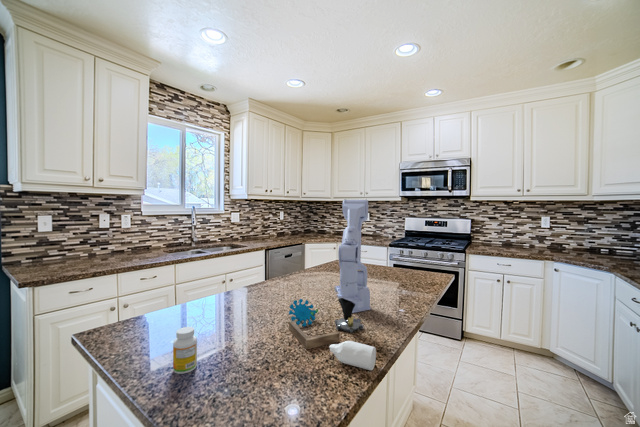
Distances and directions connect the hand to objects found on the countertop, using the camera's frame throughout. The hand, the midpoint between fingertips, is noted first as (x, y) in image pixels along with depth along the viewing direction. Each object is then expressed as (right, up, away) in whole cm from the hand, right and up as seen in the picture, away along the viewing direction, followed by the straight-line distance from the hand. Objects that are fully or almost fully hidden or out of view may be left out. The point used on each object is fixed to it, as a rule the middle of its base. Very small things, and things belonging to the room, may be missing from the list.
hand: (347, 319), depth 93 cm
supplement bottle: (-43, -4, -23) cm, 49 cm away
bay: (-12, -3, -4) cm, 13 cm away
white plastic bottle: (-1, -4, -20) cm, 20 cm away
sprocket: (+1, -3, +2) cm, 4 cm away
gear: (-15, -3, +5) cm, 16 cm away
